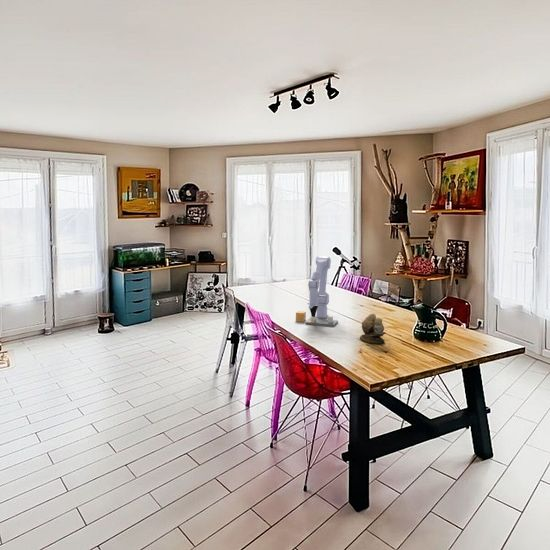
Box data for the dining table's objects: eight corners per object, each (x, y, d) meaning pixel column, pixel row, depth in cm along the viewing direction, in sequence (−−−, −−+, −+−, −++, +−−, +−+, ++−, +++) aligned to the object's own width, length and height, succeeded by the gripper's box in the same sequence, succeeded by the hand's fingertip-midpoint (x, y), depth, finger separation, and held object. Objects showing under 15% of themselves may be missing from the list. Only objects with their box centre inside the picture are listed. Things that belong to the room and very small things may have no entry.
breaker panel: (310, 320, 310) (310, 317, 310) (337, 322, 303) (337, 319, 303) (305, 324, 299) (305, 320, 299) (334, 326, 292) (334, 323, 292)
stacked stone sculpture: (391, 343, 257) (392, 315, 254) (377, 346, 251) (378, 317, 248) (368, 335, 272) (369, 309, 269) (354, 339, 265) (355, 311, 263)
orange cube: (298, 319, 313) (298, 311, 312) (305, 319, 311) (305, 311, 310) (295, 321, 308) (295, 312, 307) (303, 321, 306) (303, 313, 305)
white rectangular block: (311, 321, 305) (311, 315, 305) (315, 322, 304) (316, 316, 303) (310, 322, 302) (310, 316, 302) (314, 323, 301) (314, 317, 301)
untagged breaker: (328, 321, 301) (328, 315, 300) (332, 322, 300) (333, 316, 299) (327, 322, 298) (327, 316, 297) (331, 323, 297) (332, 317, 296)
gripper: (310, 294, 309) (310, 313, 311) (305, 298, 295) (304, 318, 297) (320, 295, 306) (320, 314, 308) (315, 299, 293) (314, 319, 295)
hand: (313, 316), depth 303 cm, fingers closed, pressing on white rectangular block
